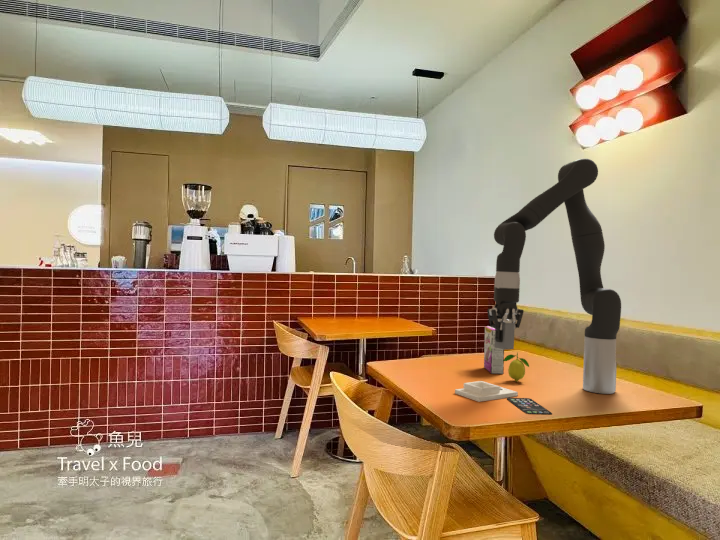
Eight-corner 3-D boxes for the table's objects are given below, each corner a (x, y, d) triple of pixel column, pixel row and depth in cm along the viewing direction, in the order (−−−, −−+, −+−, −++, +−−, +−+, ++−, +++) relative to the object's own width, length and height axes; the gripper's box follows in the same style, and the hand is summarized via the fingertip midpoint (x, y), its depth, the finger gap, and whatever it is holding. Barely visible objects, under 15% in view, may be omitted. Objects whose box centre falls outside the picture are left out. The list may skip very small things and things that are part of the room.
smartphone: (526, 413, 124) (505, 397, 139) (526, 416, 124) (505, 399, 139) (553, 413, 124) (530, 398, 139) (553, 416, 124) (530, 400, 139)
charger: (503, 346, 150) (505, 319, 150) (513, 349, 146) (514, 320, 146) (494, 347, 148) (496, 319, 148) (504, 349, 144) (505, 320, 144)
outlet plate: (492, 388, 151) (493, 378, 151) (517, 396, 143) (517, 385, 143) (454, 393, 143) (455, 382, 143) (478, 401, 134) (479, 390, 134)
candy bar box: (482, 367, 185) (484, 325, 185) (495, 368, 185) (497, 326, 185) (490, 373, 173) (491, 329, 174) (504, 374, 173) (505, 329, 173)
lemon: (502, 380, 163) (503, 351, 163) (511, 378, 167) (512, 350, 167) (520, 384, 158) (521, 354, 158) (529, 382, 162) (530, 353, 162)
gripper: (513, 286, 154) (511, 339, 154) (481, 285, 147) (478, 340, 147) (532, 288, 147) (529, 342, 147) (499, 286, 140) (496, 344, 140)
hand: (504, 341), depth 147 cm, fingers closed on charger, 4 cm apart
